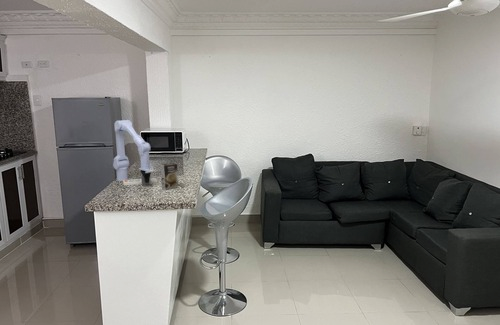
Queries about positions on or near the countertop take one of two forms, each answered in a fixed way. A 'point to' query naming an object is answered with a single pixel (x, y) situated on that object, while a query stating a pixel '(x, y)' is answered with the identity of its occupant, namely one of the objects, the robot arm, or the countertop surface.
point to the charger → (144, 182)
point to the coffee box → (169, 176)
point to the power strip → (137, 181)
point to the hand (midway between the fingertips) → (146, 181)
